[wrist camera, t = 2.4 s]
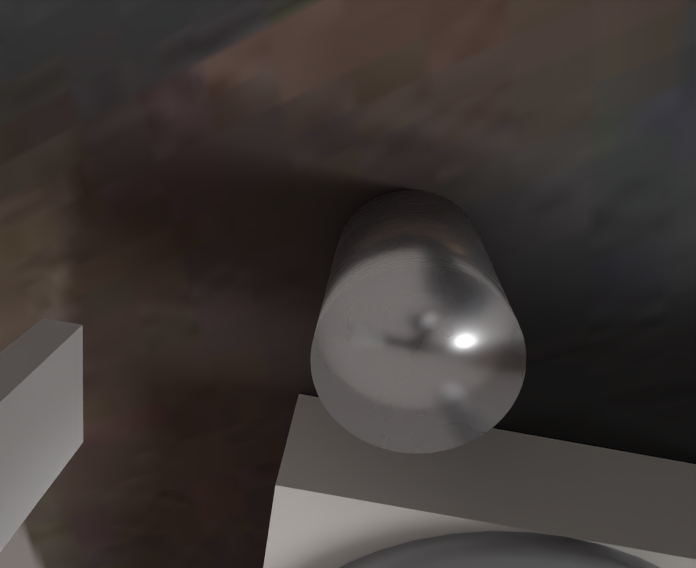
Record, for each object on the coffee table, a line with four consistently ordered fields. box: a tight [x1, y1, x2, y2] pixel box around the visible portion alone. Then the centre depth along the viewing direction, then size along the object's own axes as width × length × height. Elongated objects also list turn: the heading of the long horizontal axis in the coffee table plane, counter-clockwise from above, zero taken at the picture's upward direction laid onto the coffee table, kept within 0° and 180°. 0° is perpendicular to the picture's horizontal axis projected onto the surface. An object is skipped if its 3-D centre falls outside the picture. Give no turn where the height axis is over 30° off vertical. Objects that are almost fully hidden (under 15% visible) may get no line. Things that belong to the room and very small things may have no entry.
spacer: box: [310, 190, 527, 454], centre depth 17 cm, size 5×5×7 cm
